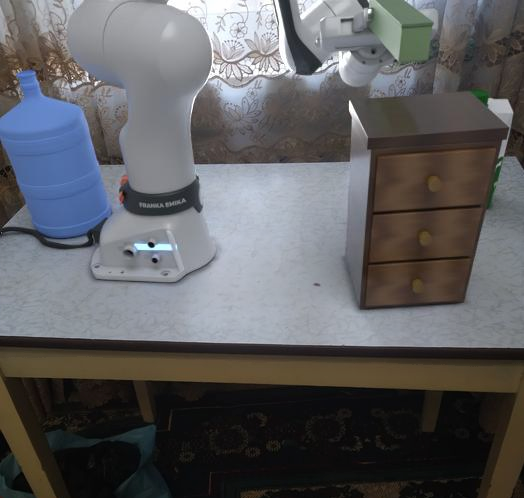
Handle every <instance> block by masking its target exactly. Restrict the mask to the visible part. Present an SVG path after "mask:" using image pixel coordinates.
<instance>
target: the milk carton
mask: <svg viewBox="0 0 524 498" xmlns="http://www.w3.org/2000/svg"><path fill="white" fill-rule="evenodd" d="M468 91H470V92H471V93H472V94H473V95H475V96H476V97H477V98H478V99H479V100H480V101H481V102H482V103H483V104H484V105H486V106H487V107H488V108H489V109H490V110H491V111H492V112H493V113H494V114H495V115H496V116H498V117H499V118H500V119H501V120H502V121H503V122H504V123H505V124H506V125H507V126H508V127H509V132H508V136H507V140H502V145H501V149H500V153H499V157H498V162H497V166H496V170H495V174H494V178H493V183H492V187H491V191H490V195H489V199H488V204H487V208H486V210H487V209H489V208H490V205H491V202H492V199H493V196H494V193H495V191H496V187H497V184H498V181H499V177H500V174H501V169H502V166H503V162H504V157H505V155H506V154H505V153H506V150H507V145H508V142H509V137H510V132H511V128H512V122H513V117H514V110H513V108H512V106H511V104H510V102H509V99H508V98H492V97H490V92H489V91H487V90H484V89H470V90H468Z"/></svg>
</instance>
